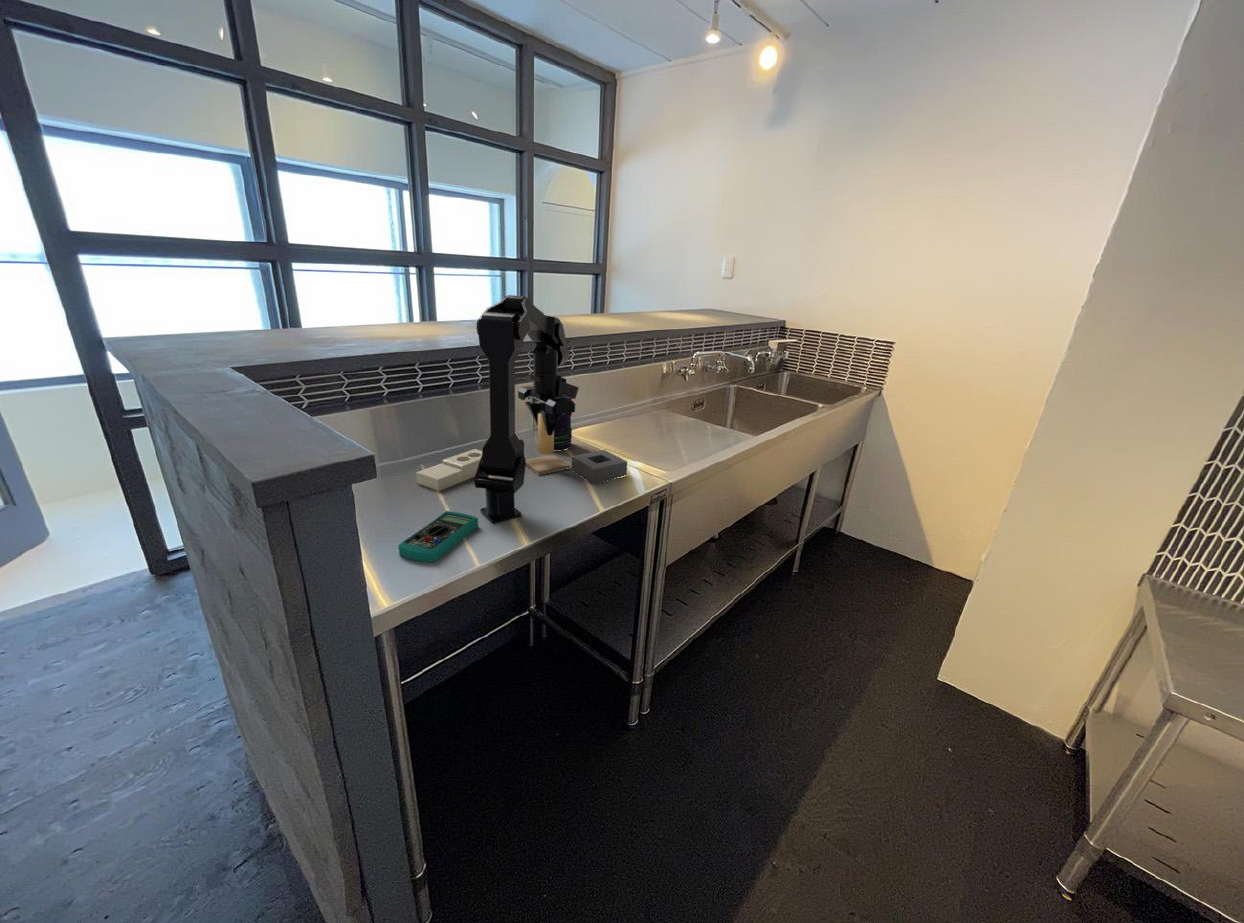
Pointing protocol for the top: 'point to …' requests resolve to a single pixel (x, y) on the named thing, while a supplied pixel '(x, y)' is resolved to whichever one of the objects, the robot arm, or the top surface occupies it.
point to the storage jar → (562, 430)
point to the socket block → (598, 466)
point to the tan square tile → (546, 464)
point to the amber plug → (544, 438)
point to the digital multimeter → (438, 537)
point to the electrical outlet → (450, 471)
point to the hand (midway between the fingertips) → (545, 432)
